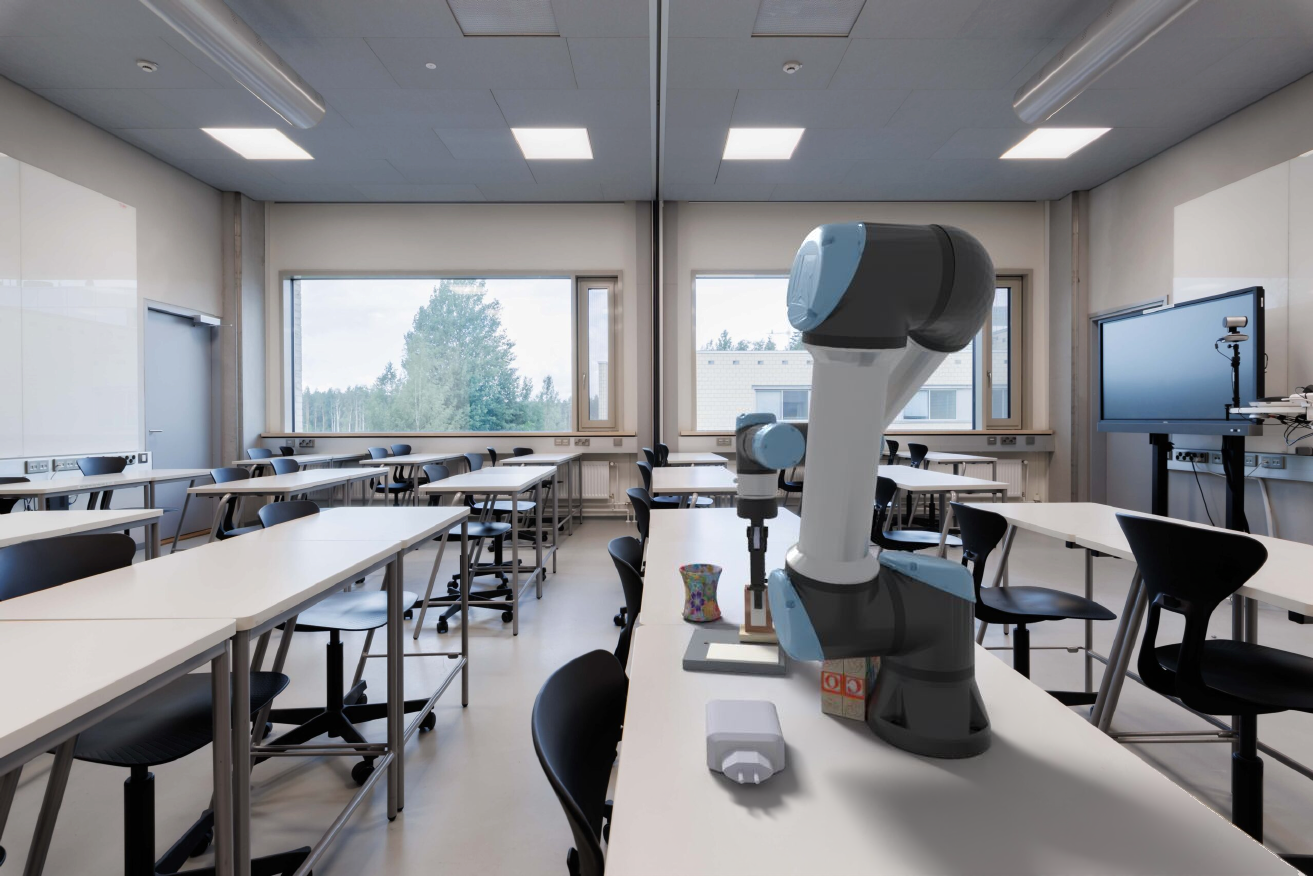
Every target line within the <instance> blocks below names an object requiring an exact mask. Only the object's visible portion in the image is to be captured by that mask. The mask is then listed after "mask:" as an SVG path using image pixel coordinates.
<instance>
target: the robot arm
mask: <svg viewBox="0 0 1313 876" xmlns="http://www.w3.org/2000/svg"><path fill="white" fill-rule="evenodd" d="M995 270H996V269H995V266H994V263H993V261H992V259H991V256H990V254H989V252H988V251H987V250H986V248H985V246H984V245H983V244H982V243H981V242H980V241H979V240H978V239H977V238H976V237H975V236H974V235H972V234H971V233H969V232H968V231H967V230H964V229H961V228H959V227H957V226H953V225H949V224H944V223H931V224H914V223H913V224H912V223H891V222H870V221H868V222H867V221H852V222H850V221H848V222H837V223H826V224H821V225H820V226H818V227H815V229H813V230H812V231H811V232H810V233H809V234H808V235H807V236H806V237H805V239H804V241H802V243H801V245H800V248H798V251H797V253H796V256H795V258H794V261H793V264H792V267H791V270H790V274H789V278H788V285H787V289H786V290H787V292H786V307H787V318H788V322H789V324H790V326H791V327H792V328H794V329H795V330H797V331H798V332H801V334H802V335H801V346H803V348H804V349H805V350H806V351H807V352H808V354H810V356H811V357H812V359H813V364H812V375H811V388H810V398H809V399H810V400H809V410H808V411H809V413H808V421H807V422H777V416H776V415H775V414H774V413H773V412H748V413H739V414H738V415H737V416H736V418H735V429H734V435H735V456H736V457H735V458H736V459H735V461H736V462H735V464H736V467H735V468H736V477H735V478H733V481H732V482H733V483H734V484H736V494H737V495H739V497H738V496H737V498H736V515H737V517H738V518H740V519H744V520H750V525H747V526H746V529H745V530H746V533H745V534H746V535H745V536H746V538H747V551H748V553H749V561H750V562H749V567H750V568H749V569H750V570H749V571H750V573H749V575H750V584H749V585H750V587H747V591H751V626H766V590H765V585H768V599H769V606H770V611H771V616H772V620H773V625H774V627H775V631H776V634H777V636H778V639H779V641H780V643H781V645H782V647H783V649H784V653H785V654H787V655H788V657H790V658H791V659H792V660H795V661H799V662H807V661H808V662H809V661H810V662H819V663H822V662H824V661H825V660H838V659H853V658H867V657H880V667H879V670H878V673H877V676H876V679H875V682H874V685H873V688H872V691H871V693H870V696H869V699H868V703H867V718H866V720H867V725H868V726H869V728H870V730H871V731H872V732H873V733H874V734H876V736H878V737H879V738H880V739H883V740H884V741H886V742H887V743H888V744H889V743H890V745H893V746H894V747H898V748H899V749H903V750H905V751H907V752H912V753H915V754H919V755H924V756H929V757H937V758H947V759H948V758H949V759H954V758H955V759H956V758H959V759H960V758H966V757H967V758H968V757H972V756H977V755H979V754H981V753H983V752H985V751H986V750H987V749H988V748H989V747H990V745H991V742H992V737H991V735H992V734H991V733H992V730H991V729H992V728H991V720H990V718H989V717H990V716H989V714H988V712H987V708H986V706H985V705H986V704H985V703H984V700H983V697H982V694H981V692H980V691H981V690H980V689H979V686H978V683H977V680H976V668H975V667H976V654H975V653H976V643H975V642H976V640H975V639H976V637H975V636H976V634H975V633H976V632H975V631H976V630H975V629H976V627H975V626H976V625H975V622H976V621H975V620H976V619H975V612H976V611H975V609H976V608H975V604H976V603H977V598H976V594H975V593H976V592H975V583H974V576H973V574H972V572H971V570H970V569H969V568H968V567H967V566H966V565H963V564H961V563H959V562H957V561H954V560H951V559H946V558H944V557H939V556H934V555H929V554H924V553H918V552H911V551H900V550H886V551H882V552H879V555H878V558H876V557H875V556H874V555H873V554H872V553H871V551H870V543H871V536H872V534H871V533H872V526H873V516H874V507H875V500H876V499H875V498H876V492H877V491H876V490H877V482H878V474H879V465H880V460H881V459H882V457H883V452H884V451H885V442H886V441H885V435H884V432H885V431H886V430H887V429H888V427H889V426H890V425H891V424H892V423H893V422H894V420H896V418H897V417H898V416H899V414H900V413H902V412H903V410H904V409H905V407H906V406H907V405H908V404H909V403H910V402H911V400H912V399H913V398H914V397H915V396H916V394H918V392H919V391H920V390H921V388H922V387H923V386H924V385H925V383H926V382H927V381H928V380H929V378H931V376H932V375H933V374H934V373H935V371H937V369H938V368H939V367H940V365H942V363H943V362H944V361H945V360H946V358H948V356H949V355H950V354H956V353H959V352H961V351H963V350H964V349H966V348H967V347H968V345H969V344H970V343H971V342H972V341H973V340H974V338H976V336H977V335H978V334H979V332H980V331H981V329H982V328H983V327H984V326H985V323H986V321H987V319H989V318H988V317H989V315H990V313H991V311H992V310H993V307H994V302H995V298H996V291H997V278H996V277H997V276H996V271H995ZM791 468H804V473H803V485H802V486H803V487H802V499H801V510H800V511H801V512H800V523H799V533H798V536H799V538H798V541H797V542H796V543H794V544H793V545H791V546H789V548H788V549H787V550H786V552H785V563H784V564H785V565H784V567H783V568H776V569H773V570H772V571H771V572H770V573H769V575H768V578H766V576H767V572H766V553H767V551H768V538H769V525H768V526H765V520H773V519H775V518H777V517H778V516H779V506H778V505H779V503H778V502H779V499H778V498H777V497H776V495H778V494H779V486H778V485H779V482H778V481H779V477H778V475H779V474H778V470H786V469H791Z"/></svg>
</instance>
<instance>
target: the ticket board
mask: <svg viewBox="0 0 1313 876" xmlns="http://www.w3.org/2000/svg"><path fill="white" fill-rule="evenodd" d="M739 632H740V630H738V629H737V630H733V629H715V628H714V629H712V628H694V630H693V632H692V635H691V637H690V640H689V642H688V645H687V647H686V650H685V652H684V655H683V657H682V659H681V660H682V669H690V670H704V671H720V672H721V671H722V672H737V673H740V672H741V673H753V674H754V673H756V674H769V675H783V676H784V675H786V674H785V673H786V672H785V670H786V669H785V666H786V665H785V650H784V649H783V647H782V645H781V643H780V641H779V639H778V643H769V642H750V641H739Z"/></svg>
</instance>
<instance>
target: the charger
mask: <svg viewBox="0 0 1313 876" xmlns="http://www.w3.org/2000/svg"><path fill="white" fill-rule="evenodd" d="M705 716H706V717H705V718H706V719H705V721H706V722H705V723H706V725H705V727H706V731H705V732H706V733H705V735H706V738H705V739H706V740H705V741H706V765H707V768H709V769H710V770H712V771H716V772H719V773H724V775H725V776H726V777H728V778H729V779H731V780H733V781H735V782H737V783H739V784H744V783H755V784H756V785H758V784H760V782H762V781H766V780H767V779H769V778H770V777H771V776H772V775H773V774H774V773H778V771H779V772H780V771H783V770H784V769H785V765H786V764H785V763H786V761H785V760H786V759H785V757H786V756H785V739H784V736H783V735H784V734H783V730H782V727H781V723H780V720H779V716H778V711H777V707H776V704H775V703H773V702H771V701H769V700H763V699H762V700H761V699H713V700H710V701H708V702H707V703H706V704H705Z"/></svg>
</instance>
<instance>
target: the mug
mask: <svg viewBox="0 0 1313 876" xmlns="http://www.w3.org/2000/svg"><path fill="white" fill-rule="evenodd" d="M678 571H679V573H680V575H681V578H682V581H683V586H684V589H685V590H684V593H685V598H684V599H685V600H684V606H683V608H682V610H681V615H682V616H683V618H685V619H687V620H689V621H694V622H708V621H713V620H716V619H718V618H720V617H721V615H722V611H721V610H720V606H719V604H718V603H719V602H718V594H717V592H718V585H719V582H720V581H719V579H720V577H721V574H722V572H723V567H722V566H719V565H716V564H712V563H690V564H685V565H681V566H680V567H679V568H678Z"/></svg>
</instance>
